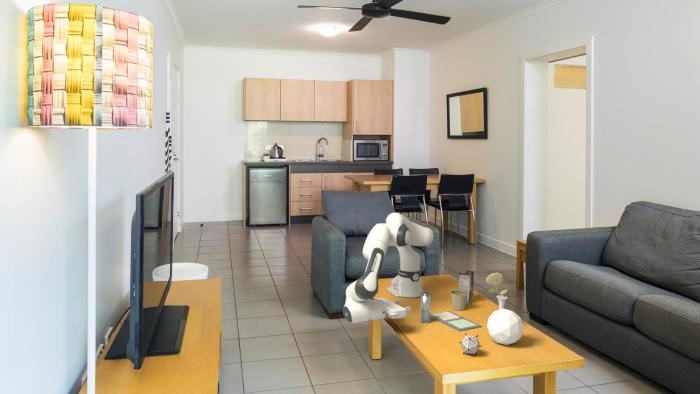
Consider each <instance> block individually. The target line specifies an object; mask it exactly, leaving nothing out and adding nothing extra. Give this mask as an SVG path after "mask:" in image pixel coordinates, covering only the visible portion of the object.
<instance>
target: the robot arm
mask: <svg viewBox="0 0 700 394" xmlns="http://www.w3.org/2000/svg"><path fill="white" fill-rule="evenodd" d="M434 235H435V234H434V232H433V230H432V229H431V228H429V227H426V226H423V225H421V224H419V223H416V222H413V221H411V220H409V218H407V217H406V216H405V215H403V214H402V213H398V212H391V213H389V214H388V215H387V217H386V218H385V223H381V222H373V223H371V224H370V225H369V226H368V228H367V233H366V236H367V237H366V239H365V242H364V245H363V248H362V255H363V257H364V258H365V259H366V260H367V264H366V267H365V270H364V273H363V274H362V275H361V276H360V277H359V278H358V279H357V280H355V281H353V282H351V283H350V284H349V285H348V286H347V287H346V289H345V303H344V306H343V308H342V314H343V317H344V319H345V320H346V321H347V322H349V323H353V324H359V323H366V322H368V321H371V322H373V321H379V320H384V319H385V318H386V316H387V317H389V318H391V319H402V318H404V319H405V318H406V317H407V316H408V312H411V310H412V307H411V306H405V307H403V306H402V305H400V301H398V300H389V299H387V298H386V297H385V298H384V297H376V295H377V294H378V292H379V279H380V278H379V277H380V274H381V270H382V266H383V264H384V260H385V257H386V254H387V251H388V248H389V247H395V248H396V249H397V251H398V254H399V268H398V269H397V272H398V273H397V275H396V276H395V277H394V278H392V279H391V281H390V282H391V284H390V286H388V287H386V290H387V292H388V291H389V293H391V294H392V295H393V296H394V297H403V298H418V297H421V292H425V291H424V289H423V281H422V280H423V279H422V277H421V273H422V272H421V257H420V254H419V253H418V252H417V251H415V250H414V249H413V248H412V246H415V247H426V246H427V247H429V246H430V245H431V244H432V243H433V241H434ZM375 297H376V298H375Z"/></svg>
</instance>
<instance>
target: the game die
mask: <svg viewBox="0 0 700 394" xmlns="http://www.w3.org/2000/svg"><path fill="white" fill-rule="evenodd" d="M464 335H465V336H464V337H463V339H462V340H461V341H459V344H460V345H461V348H462V351H463V353H462V354H463V355H464V354H470V355H474V356H475V357H476V356H477V352H478V351H479V349H480V348H482V347H483V345H481V344H480V341H479V339H478V337H479V334H477V335H471V334H467V333H466V332H465V333H464Z"/></svg>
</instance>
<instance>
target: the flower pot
mask: <svg viewBox="0 0 700 394" xmlns="http://www.w3.org/2000/svg"><path fill="white" fill-rule="evenodd" d="M449 294H450V297H451V298H450V299H451V306H452V307H451V308H452V310H454V311H458V312H460V311H465V309H466V308H465V307H466V305H467V304H466V298H467V295H468V292H466V291H462V290H458V289H453V290H450V291H449Z"/></svg>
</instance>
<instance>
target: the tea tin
mask: <svg viewBox="0 0 700 394" xmlns="http://www.w3.org/2000/svg"><path fill="white" fill-rule="evenodd" d="M431 303H432V292H431V291H424V292H421V296H420V323H422V324H424V323H427V325H428V324H431V317H430V316H431V314H432V313H431V312H432V311H431V308H432V304H431Z"/></svg>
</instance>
